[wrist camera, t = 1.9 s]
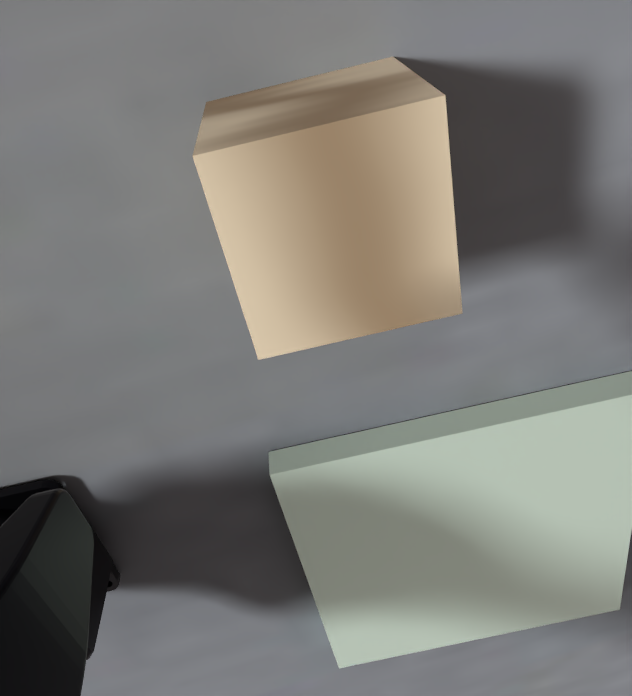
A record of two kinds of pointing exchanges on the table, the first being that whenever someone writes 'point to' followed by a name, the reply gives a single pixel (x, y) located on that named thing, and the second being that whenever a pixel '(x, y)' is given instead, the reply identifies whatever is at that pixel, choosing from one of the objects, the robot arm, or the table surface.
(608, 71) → the table surface
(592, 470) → the green pad
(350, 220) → the birch cube
